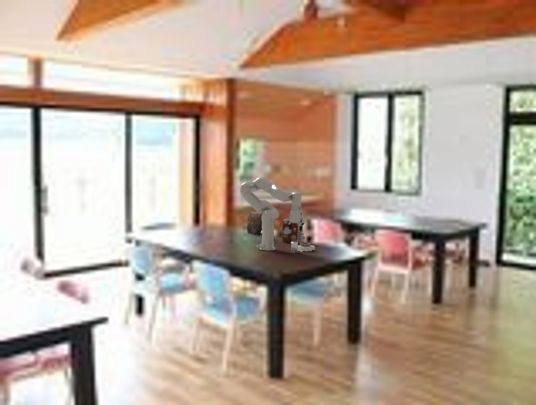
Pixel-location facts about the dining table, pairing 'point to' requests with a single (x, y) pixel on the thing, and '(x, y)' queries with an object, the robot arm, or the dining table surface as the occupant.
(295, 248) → the lens
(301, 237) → the brown patterned box
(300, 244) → the camera body
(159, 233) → the dining table surface
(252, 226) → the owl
